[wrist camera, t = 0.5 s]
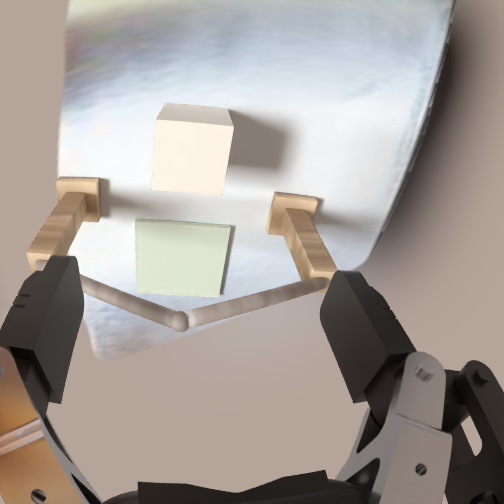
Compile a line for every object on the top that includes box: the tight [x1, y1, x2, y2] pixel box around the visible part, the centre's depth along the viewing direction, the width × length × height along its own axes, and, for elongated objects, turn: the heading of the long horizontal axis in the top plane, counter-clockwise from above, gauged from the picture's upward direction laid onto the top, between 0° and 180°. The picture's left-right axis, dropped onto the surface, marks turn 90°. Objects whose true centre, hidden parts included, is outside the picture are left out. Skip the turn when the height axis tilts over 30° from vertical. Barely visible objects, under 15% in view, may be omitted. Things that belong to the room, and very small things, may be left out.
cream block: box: [151, 103, 234, 195], centre depth 23 cm, size 5×5×6 cm
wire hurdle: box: [27, 177, 338, 332], centre depth 23 cm, size 4×24×15 cm, turn 79°
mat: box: [135, 219, 231, 297], centre depth 32 cm, size 9×9×1 cm
